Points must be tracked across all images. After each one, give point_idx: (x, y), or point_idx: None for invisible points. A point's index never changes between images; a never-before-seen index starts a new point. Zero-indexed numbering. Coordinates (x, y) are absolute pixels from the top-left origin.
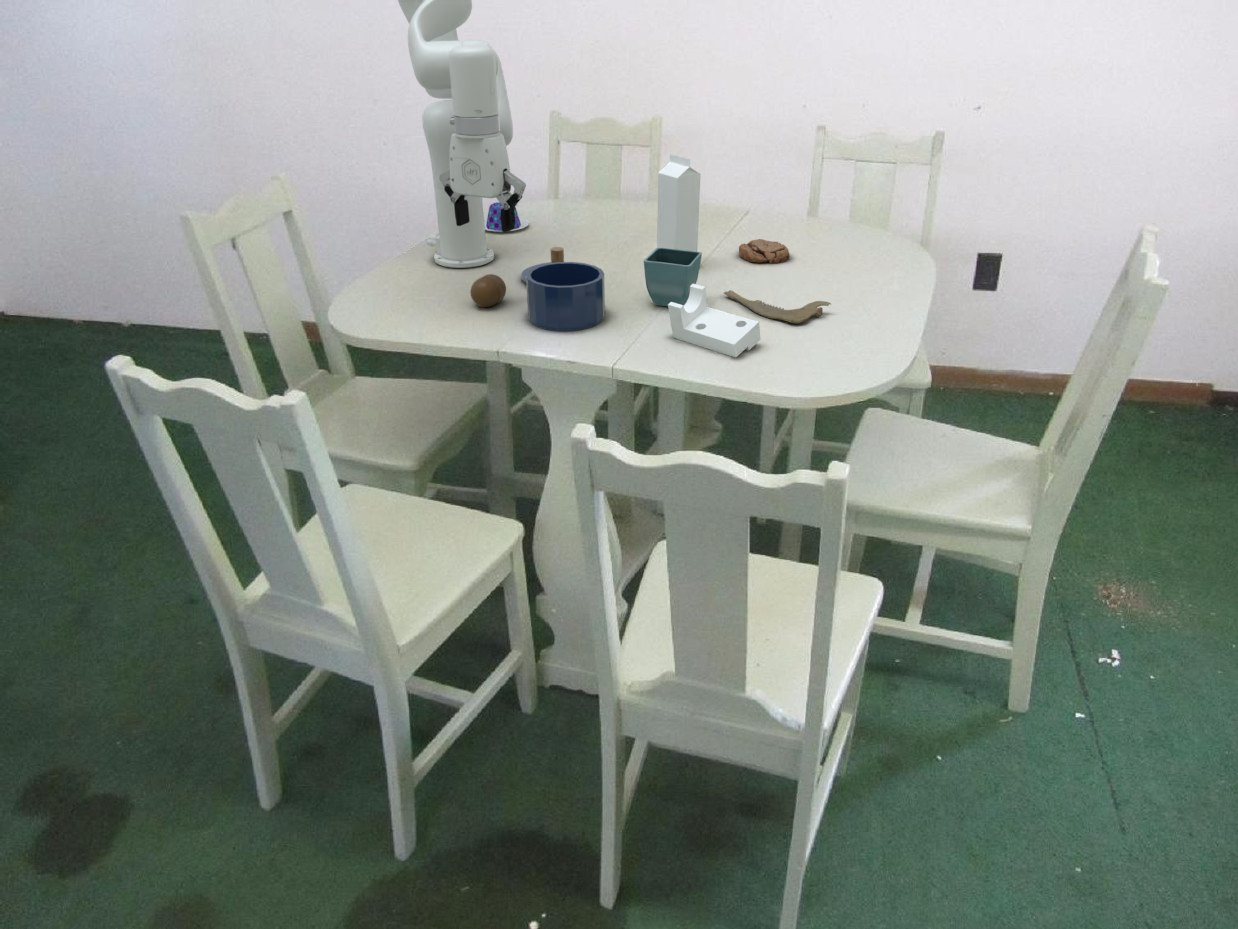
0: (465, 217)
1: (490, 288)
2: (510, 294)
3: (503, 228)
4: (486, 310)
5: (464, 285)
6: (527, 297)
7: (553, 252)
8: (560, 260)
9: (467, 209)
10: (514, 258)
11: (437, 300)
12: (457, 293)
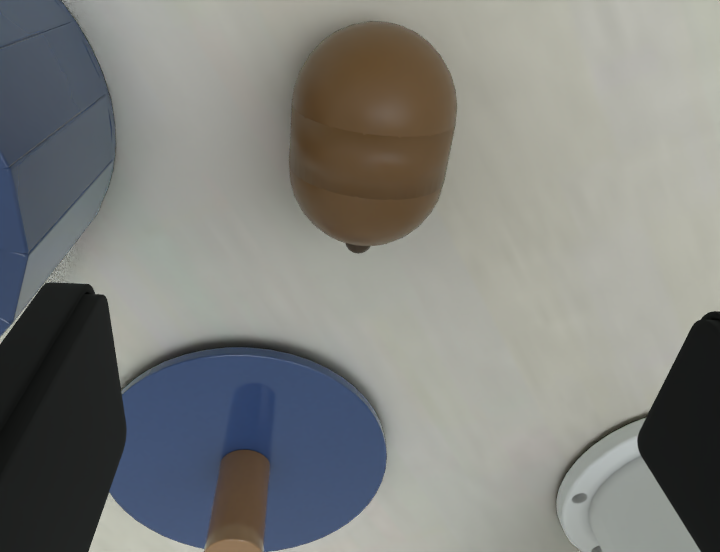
0: (691, 445)
1: (316, 80)
2: (337, 263)
3: (53, 302)
4: None
5: (573, 282)
6: (6, 16)
7: (235, 531)
8: (214, 508)
9: (717, 549)
10: (491, 536)
11: (636, 74)
12: (571, 191)
